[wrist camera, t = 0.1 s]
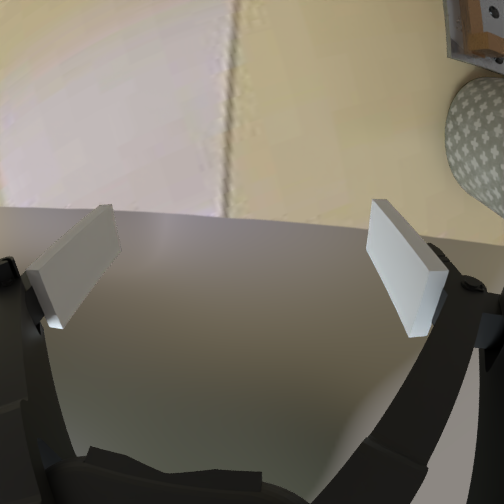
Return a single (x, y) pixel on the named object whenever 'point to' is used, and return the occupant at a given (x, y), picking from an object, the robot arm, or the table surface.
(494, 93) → the planter
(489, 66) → the gauge board
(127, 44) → the table surface
